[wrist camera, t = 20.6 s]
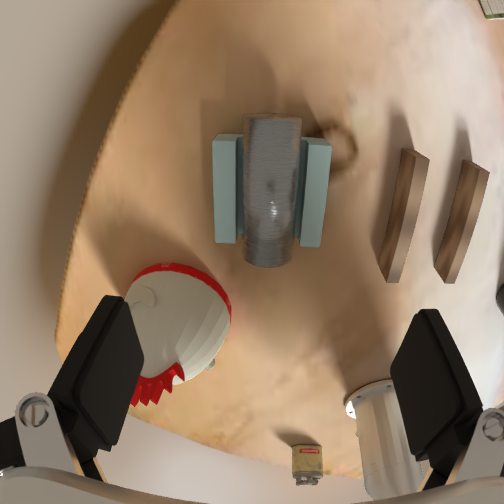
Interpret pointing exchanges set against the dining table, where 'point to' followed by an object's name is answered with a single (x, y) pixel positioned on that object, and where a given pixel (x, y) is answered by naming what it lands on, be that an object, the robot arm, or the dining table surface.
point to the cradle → (231, 188)
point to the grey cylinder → (270, 187)
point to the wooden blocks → (407, 212)
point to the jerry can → (307, 464)
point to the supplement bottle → (501, 299)
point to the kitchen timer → (176, 326)
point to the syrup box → (493, 9)
